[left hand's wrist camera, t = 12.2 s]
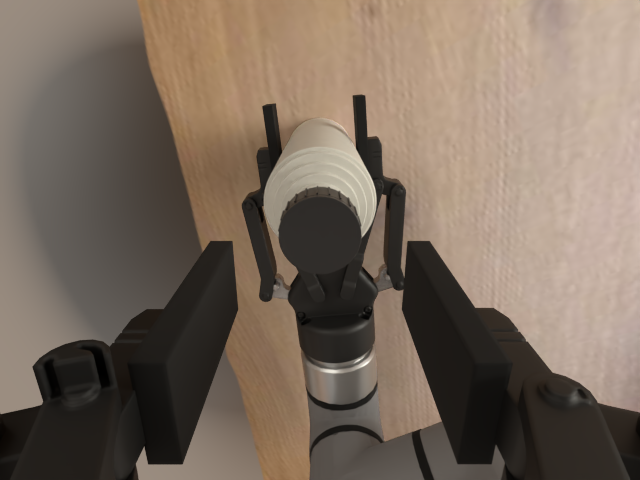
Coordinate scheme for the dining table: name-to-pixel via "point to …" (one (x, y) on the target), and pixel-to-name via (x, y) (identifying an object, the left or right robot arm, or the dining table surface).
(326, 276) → the right robot arm
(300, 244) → the cap
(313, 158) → the bottle
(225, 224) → the dining table surface
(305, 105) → the dining table surface
